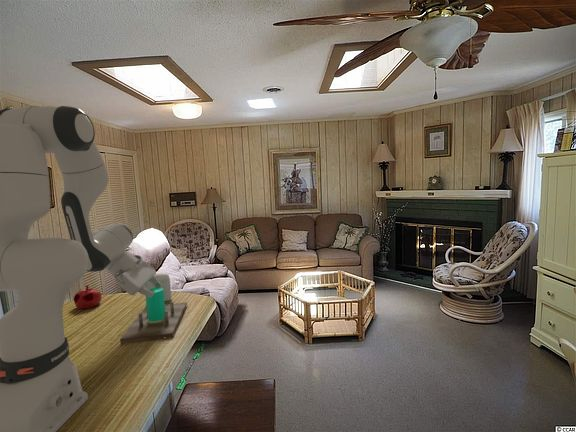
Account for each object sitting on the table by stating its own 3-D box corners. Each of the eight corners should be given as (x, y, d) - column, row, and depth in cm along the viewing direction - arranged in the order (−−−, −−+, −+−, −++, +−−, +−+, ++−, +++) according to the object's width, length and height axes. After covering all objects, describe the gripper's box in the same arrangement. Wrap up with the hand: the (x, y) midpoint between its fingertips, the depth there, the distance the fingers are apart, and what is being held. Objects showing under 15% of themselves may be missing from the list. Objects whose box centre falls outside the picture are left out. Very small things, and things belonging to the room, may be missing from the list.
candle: (160, 321, 106) (157, 289, 104) (144, 321, 107) (141, 289, 105) (169, 314, 112) (166, 283, 110) (154, 314, 112) (151, 283, 111)
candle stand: (172, 337, 98) (171, 321, 97) (120, 343, 95) (118, 327, 95) (186, 305, 123) (185, 293, 123) (146, 310, 121) (144, 297, 120)
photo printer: (170, 297, 134) (167, 270, 132) (172, 300, 130) (170, 272, 129) (145, 303, 128) (142, 275, 127) (146, 306, 125) (144, 278, 123)
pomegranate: (85, 302, 134) (83, 282, 133) (107, 301, 133) (104, 281, 132) (68, 311, 124) (65, 289, 123) (91, 310, 123) (89, 288, 123)
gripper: (118, 268, 95) (153, 294, 98) (141, 254, 116) (169, 276, 118) (105, 283, 95) (140, 309, 98) (130, 266, 115) (158, 288, 118)
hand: (156, 291), depth 108 cm, fingers open, 8 cm apart
